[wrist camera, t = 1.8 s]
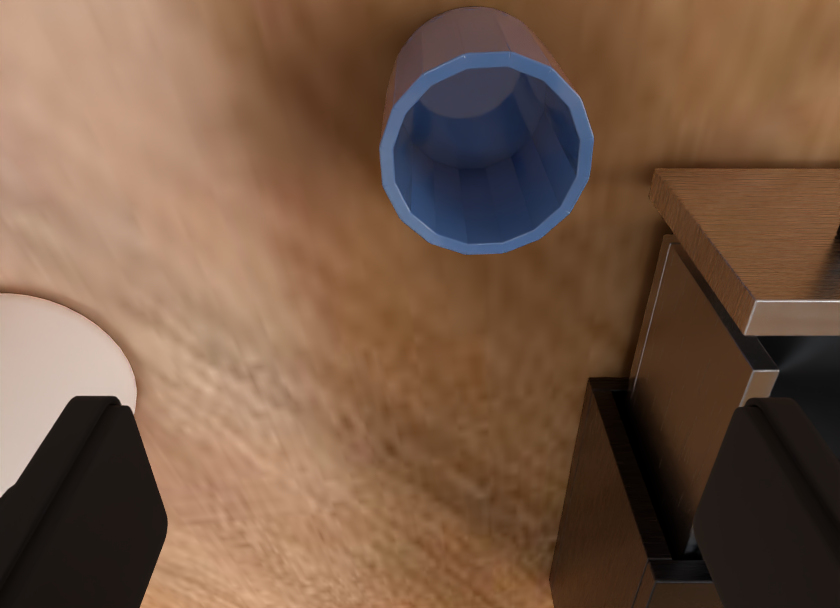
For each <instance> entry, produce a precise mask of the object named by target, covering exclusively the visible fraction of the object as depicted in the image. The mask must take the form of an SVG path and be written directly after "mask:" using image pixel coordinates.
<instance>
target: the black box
mask: <svg viewBox="0 0 840 608" xmlns="http://www.w3.org/2000/svg"><path fill="white" fill-rule="evenodd" d="M628 380H629V378H590V379H589V380H588V385H587V390H586V395H585V400H584V405H583V410H582V415H581V421H580V426H579V431H578V436H577V441H576V446H575V451H574V456H573V461H572V466H571V471H570V477H569V482H568V487H567V492H566V497H565V502H564V507H563V512H562V517H561V522H560V527H559V532H558V538H557V543H556V548H555V553H554V558H553V563H552V568H551V573H550V578H549V581H550V587H551V591H552V598H553V604H554V608H724V607H723V605H722V602H721V600H720V597H719V595H718V593H717V590H716V588H715V585H714V583H713V580H712V578H711V576H710V573H709V571H708V568H707V566H706V564H705V561H704V560H672V557H671V554H670V551H669V549H668V546H667V543H666V540H665V538H664V535H663V532H662V529H661V527H660V524H659V521H658V518H657V516H656V513H655V510H654V507H653V505H652V502H651V499H650V496H649V494H648V491H647V488H646V485H645V483H644V480H643V477H642V474H641V472H640V469H639V466H638V463H637V461H636V458H635V455H634V452H633V450H632V447H631V444H630V441H629V439H628V436H627V433H626V430H625V428H624V425H623V422H622V419H621V417H620V413H621V409H622V405H623V401H624V397H625V393H626V389H627V384H628Z"/></svg>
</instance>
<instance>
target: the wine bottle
mask: <svg viewBox="0 0 840 608" xmlns="http://www.w3.org/2000/svg"><path fill="white" fill-rule="evenodd" d="M75 396H116V397H117V398H118V399H119V400H120V402H121V404H122V405H127V406H129V407H130V408H131V410H132V412H133V415H134V413H135V407H136V398H137V388H136V382H135V376H134V373H133V371H132V368H131V366H130V363H129V361H128V360H127V358H126V356H125V355H124V353H123V352H122V350H121V349H120V347H119V346H118V345H117V344H116V343H115V342H114V340H113V339H112V338H111V337H110V336H109V335H108V334H107V333H106V332H104V331H103V330H102V329H101V328H100V327H99V326H98V325H96V324H95V323H93V322H92V321H90V320H89V319H87V318H86V317H84V316H83V315H81V314H79V313H77V312H75V311H73V310H71V309H69V308H67V307H65V306H63V305H60V304H57V303H55V302H52V301H49V300H46V299H42V298H38V297H33V296H29V295H21V294H11V293H1V294H0V498H1V496H2V495H3V494H4V493H5V492H6V490H7V489H8V488H10V487H11V486H13V485H14V484H15V483H16V482H17V480H18V478H19V477H20V475H21V474H22V472H23V471H24V469H25V468H26V466H27V465H28V463H29V462H30V460H31V459H32V457H33V455H34V454H35V452H36V451H37V449H38V448H39V446H40V445H41V443H42V442H43V440H44V439H45V437H46V436H47V434H48V432H49V431H50V429H51V428H52V426H53V425H54V423H55V422H56V420H57V419H58V417H59V416H60V414H61V413H62V411H63V409H64V408H65V406H66V405H67V403H68V402H69V401H70V400H71V399H72V398H73V397H75Z"/></svg>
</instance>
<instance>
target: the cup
mask: <svg viewBox="0 0 840 608" xmlns="http://www.w3.org/2000/svg"><path fill="white" fill-rule="evenodd" d="M593 145H594V135H593V132H592V128H591V125H590V122H589V119H588V116H587V113H586V110H585V107H584V104H583V101H582V99H581V97H580V95H579V94H578V93H577V91H576V90H575V88H574V87H573V85H572V84H571V82H570V81H569V80H568V78H567V77H566V75H565V74H564V72H563V71H562V69H561V68H560V66H559V65H558V64H557V62H556V61H555V59H554V58H553V56H552V55H551V53H550V52H549V50H548V49H547V48H546V46H545V45H544V44H543V43H542V42H541V41H540V40H539V39H538V37H537V36H536V35H535V34H534V32H533V31H532V30H531V29H530V28H529V27H527V26H526V25H525V24H524V23H523V22H522V21H520V20H518V19H517V18H515V17H514V16H512V15H510V14H508V13H506V12H503V11H500V10H497V9H493V8H487V7H472V6H471V7H463V8H457V9H453V10H450V11H447V12H444V13H442V14H439V15H437V16H436V17H434V18H432V19H430V20H429V21H427V22H426V23H425V24H423V25H422V26H421V27H419V28H418V29H417V30H416V31H415V32H414V33H413V34H412V35H411V36H410V38H409V39H408V40H407V42H406V43H405V44H404V46H403V47H402V49H401V51H400V53H399V54H398V56H397V59H396V61H395V64H394V66H393V70H392V73H391V77H390V81H389V84H388V88H387V95H386V102H385V109H384V116H383V123H382V130H381V137H380V144H379V154H380V166H381V178H382V185H383V189H384V190H385V192H386V194H387V196H388V198H389V200H390V202H391V203H392V205H393V207H394V209H395V211H396V213H397V215H398V216H399V218H400V219H401V221H403V222H404V223H405V224H406V225H407V226H409V227H410V228H411V229H412V230H414V231H415V232H416V233H417V234H419V235H420V236H421V237H422V238H424V239H425V240H426V241H427V242H429V243H431V244H433V245H436V246H439V247H442V248H446V249H449V250H452V251H455V252H458V253H461V254H466V255H475V254H501V253H506V252H509V251H511V250H514V249H516V248H519V247H521V246H524V245H526V244H529V243H532V242H534V241H537V240H539V239H540V238H542V237H543V236H544V235H546V234H547V233H548V232H549V231H550V230H551V229H553V228H554V227H555V226H556V225H557V224H558V223H559V222H561V221H562V220H563V219H564V218H565V217H566V216H568V215H569V214H570V212H571V211H572V209H573V207H574V206H575V204H576V202H577V200H578V198H579V196H580V195H581V193H582V191H583V189H584V187H585V186H586V184H587V182H588V180H589V177H590V172H591V163H592V154H593Z"/></svg>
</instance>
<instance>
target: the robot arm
mask: <svg viewBox="0 0 840 608" xmlns="http://www.w3.org/2000/svg"><path fill="white" fill-rule="evenodd" d="M167 526H168V521H167V514H166V511H165V508H164V505H163V502H162V499H161V496H160V493H159V490H158V487H157V484H156V481H155V478H154V475H153V472H152V469H151V466H150V463H149V460H148V457H147V454H146V451H145V448H144V445H143V442H142V439H141V436H140V433H139V430H138V427H137V424H136V421H135V418H134V415H133V412H132V410H131V408H130V407H129V406H127V405H122V404H121V402H120V400H119V399H118V398H117V397H116V396H75V397H73V398H72V399H71V400H70V401H69V402H68V403H67V405H66V406H65V408H64V409H63V411H62V413H61V414H60V416H59V417H58V419H57V420H56V422H55V423H54V425H53V426H52V428H51V429H50V431H49V432H48V434H47V436H46V437H45V439H44V440H43V442H42V443H41V445H40V446H39V448H38V449H37V451H36V452H35V454H34V455H33V457H32V459H31V460H30V462H29V463H28V465H27V466H26V468H25V469H24V471H23V472H22V474H21V475H20V477H19V478H18V480H17V482H16V483H15V484H14V485H13V486H11V487H10V488H8V489H7V490H6V492H5V493H4V494H3V495H2V496H1V498H0V608H140V605H141V602H142V600H143V597H144V594H145V592H146V589H147V586H148V584H149V581H150V578H151V576H152V573H153V570H154V568H155V565H156V562H157V560H158V557H159V554H160V552H161V549H162V546H163V544H164V541H165V538H166V534H167ZM693 530H694V536H695V539H696V542H697V544H698V547H699V549H700V551H701V554H702V556H703V559H704V561H705V564H706V566H707V568H708V571H709V573H710V576H711V578H712V580H713V583H714V585H715V588H716V590H717V593H718V595H719V597H720V600H721V602H722V605H723V607H724V608H840V462H839V461H838V459H837V458H836V456H835V455H834V453H833V452H832V451H831V449H830V448H829V446H828V445H827V444H826V442H825V441H824V439H823V438H822V437H821V435H820V434H819V432H818V431H817V430H816V428H815V427H814V425H813V424H812V422H811V421H810V420H809V418H808V417H807V415H806V414H805V413H804V411H803V410H802V408H801V407H800V406H799V404H798V403H797V402H796V401H795V400H793V399H791V398H761V397H755V398H750V399H748V400H747V401H746V403H745V405H744V407H738V408H736V409H735V411H734V413H733V415H732V418H731V420H730V423H729V426H728V428H727V431H726V434H725V436H724V439H723V441H722V444H721V447H720V449H719V452H718V455H717V457H716V460H715V462H714V465H713V468H712V470H711V473H710V476H709V478H708V481H707V483H706V486H705V489H704V491H703V494H702V497H701V499H700V502H699V504H698V507H697V510H696V512H695V515H694V519H693Z"/></svg>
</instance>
